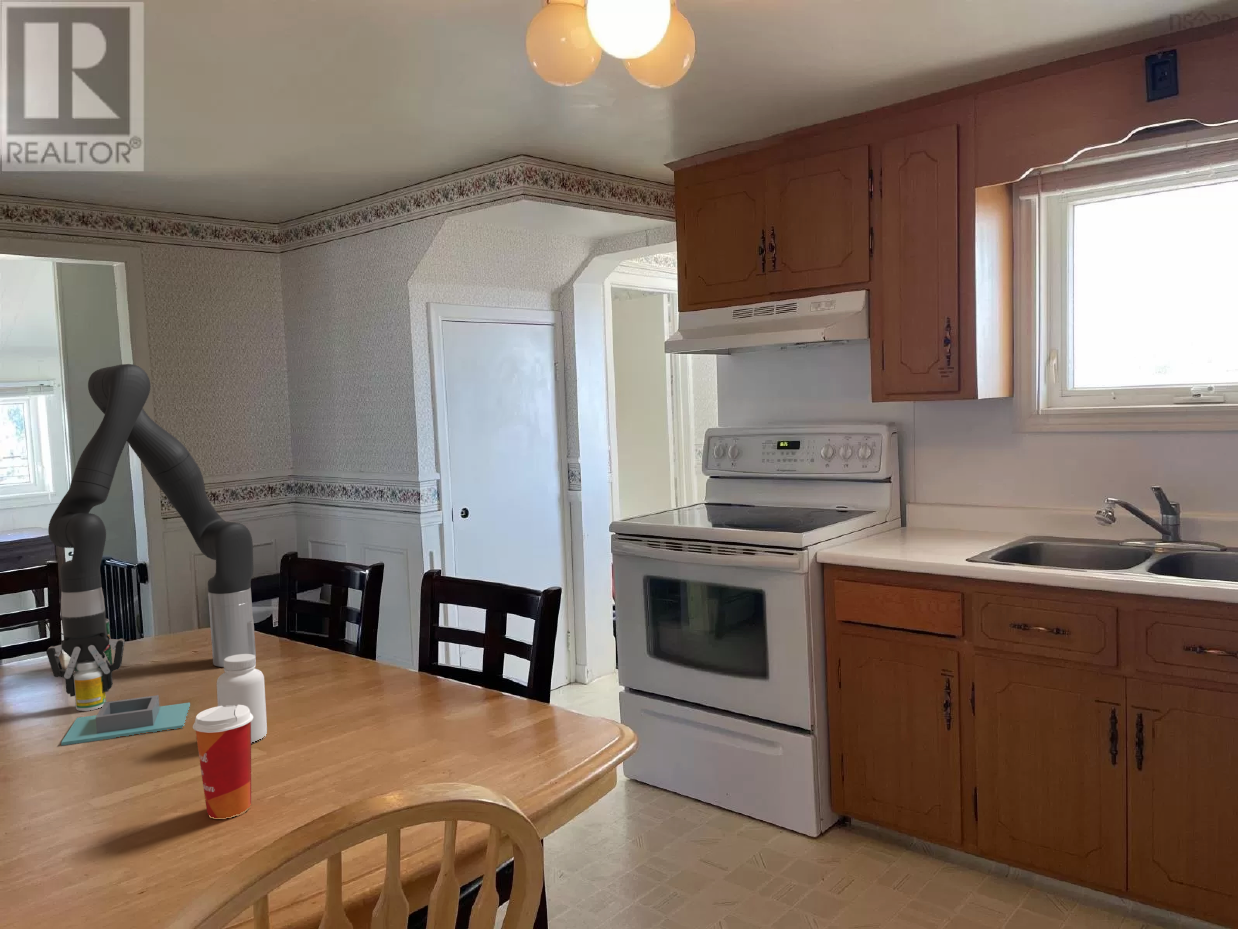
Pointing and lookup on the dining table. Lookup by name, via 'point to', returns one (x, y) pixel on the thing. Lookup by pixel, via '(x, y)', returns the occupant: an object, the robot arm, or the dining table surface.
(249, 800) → the coffee cup
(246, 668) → the pill bottle
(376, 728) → the dining table surface
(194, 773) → the dining table surface
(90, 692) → the supplement bottle
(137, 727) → the bottle stand
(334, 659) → the dining table surface
